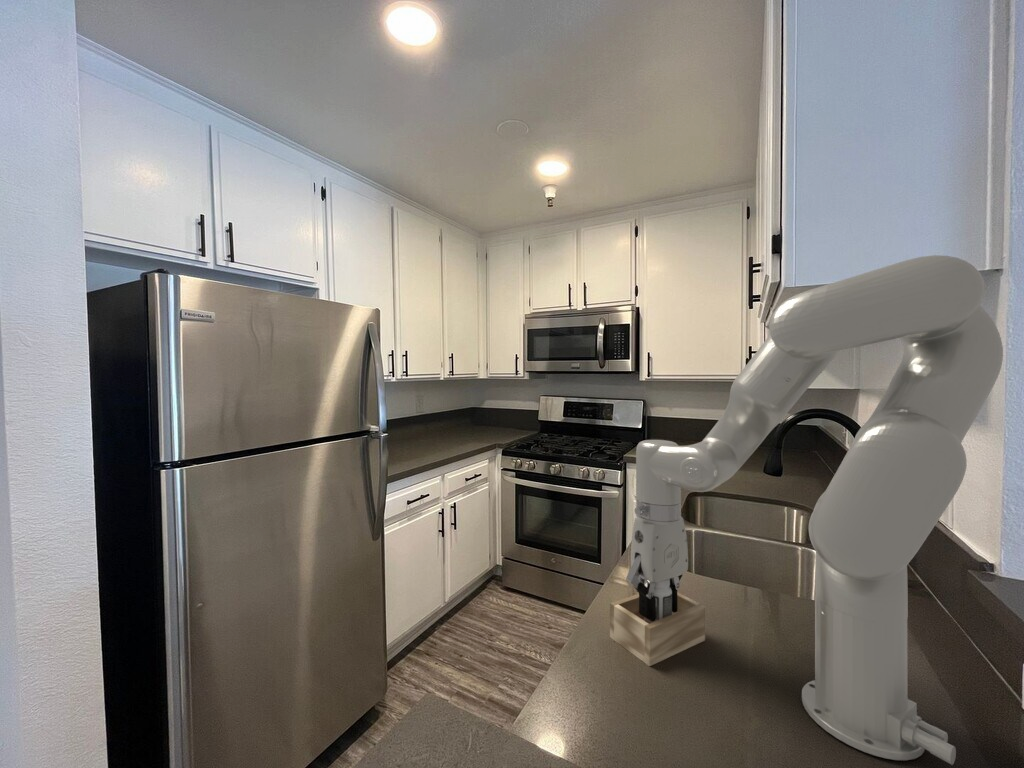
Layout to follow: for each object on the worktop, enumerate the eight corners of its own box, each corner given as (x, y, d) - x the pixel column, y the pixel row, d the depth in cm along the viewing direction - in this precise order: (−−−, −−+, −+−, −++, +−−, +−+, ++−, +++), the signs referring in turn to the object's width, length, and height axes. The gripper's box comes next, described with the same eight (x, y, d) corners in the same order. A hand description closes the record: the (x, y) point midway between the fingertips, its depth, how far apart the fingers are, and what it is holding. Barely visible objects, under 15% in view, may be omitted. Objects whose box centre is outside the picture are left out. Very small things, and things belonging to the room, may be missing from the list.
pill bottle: (667, 617, 76) (668, 570, 76) (675, 631, 71) (675, 582, 71) (641, 615, 76) (641, 569, 77) (646, 629, 72) (647, 580, 72)
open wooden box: (704, 640, 73) (705, 606, 73) (649, 666, 66) (649, 628, 66) (663, 615, 81) (663, 585, 81) (609, 636, 74) (610, 603, 74)
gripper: (640, 523, 66) (640, 638, 66) (707, 508, 75) (707, 610, 75) (607, 511, 73) (607, 616, 73) (672, 499, 81) (672, 592, 81)
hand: (658, 612), depth 74 cm, fingers open, 4 cm apart
